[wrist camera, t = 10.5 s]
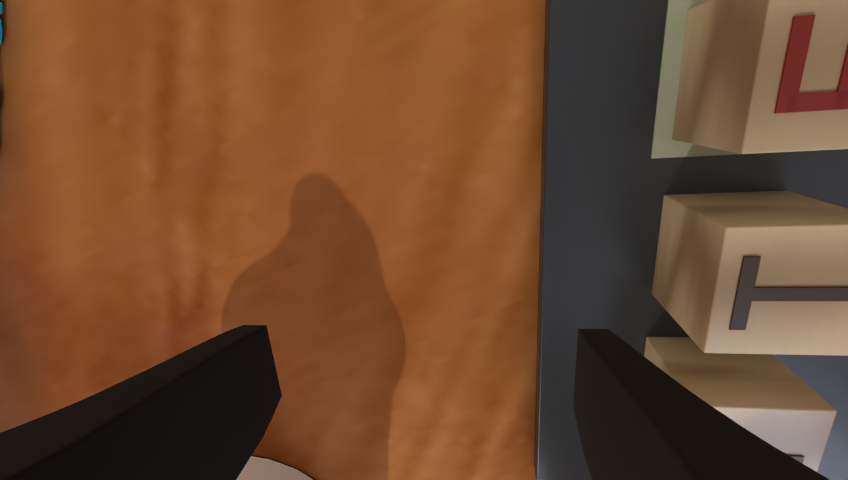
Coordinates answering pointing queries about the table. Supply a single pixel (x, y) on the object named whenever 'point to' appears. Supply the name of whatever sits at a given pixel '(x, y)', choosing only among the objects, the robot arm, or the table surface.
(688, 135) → the block
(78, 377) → the table surface
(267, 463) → the honey pot
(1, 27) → the text ornament
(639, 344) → the letter board
